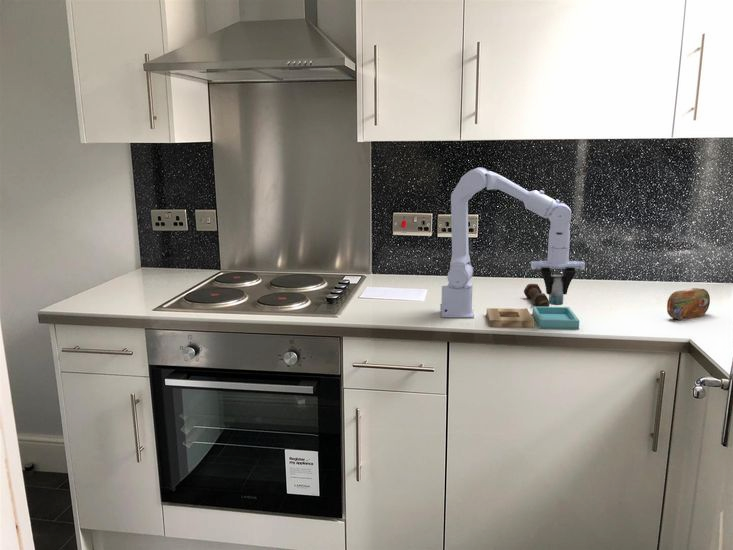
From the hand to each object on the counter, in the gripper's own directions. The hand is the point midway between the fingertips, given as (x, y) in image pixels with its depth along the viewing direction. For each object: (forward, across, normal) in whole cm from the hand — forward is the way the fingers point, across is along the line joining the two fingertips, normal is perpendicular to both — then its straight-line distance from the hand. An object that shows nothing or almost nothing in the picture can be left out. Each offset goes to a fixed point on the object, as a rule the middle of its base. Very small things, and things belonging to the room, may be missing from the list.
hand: (556, 293), depth 178 cm
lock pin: (+3, 0, 0) cm, 3 cm away
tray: (+8, 0, 0) cm, 8 cm away
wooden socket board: (+8, -13, 0) cm, 15 cm away
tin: (+9, +39, +6) cm, 40 cm away
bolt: (+9, -2, +18) cm, 21 cm away
